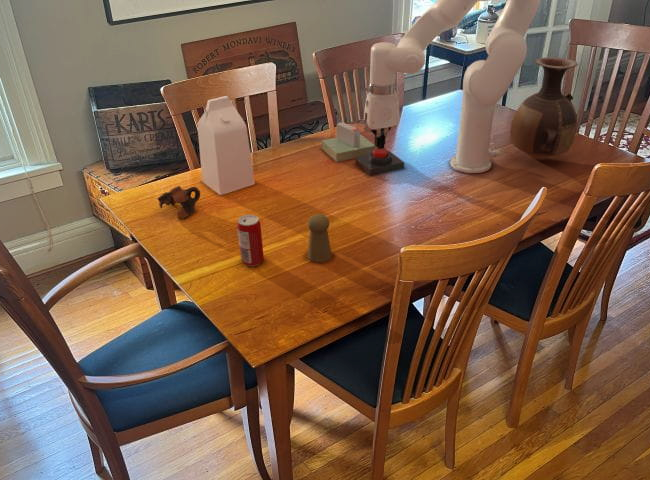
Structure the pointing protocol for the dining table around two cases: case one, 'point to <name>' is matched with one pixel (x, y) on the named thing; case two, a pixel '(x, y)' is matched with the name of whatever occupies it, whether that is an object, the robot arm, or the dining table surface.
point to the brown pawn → (319, 239)
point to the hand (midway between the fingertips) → (379, 147)
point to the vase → (546, 115)
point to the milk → (224, 148)
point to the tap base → (346, 149)
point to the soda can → (250, 240)
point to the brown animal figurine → (181, 199)
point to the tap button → (380, 153)
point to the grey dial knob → (348, 134)
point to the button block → (379, 163)
